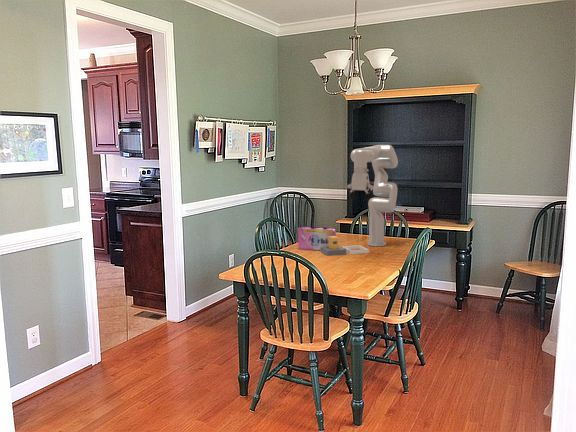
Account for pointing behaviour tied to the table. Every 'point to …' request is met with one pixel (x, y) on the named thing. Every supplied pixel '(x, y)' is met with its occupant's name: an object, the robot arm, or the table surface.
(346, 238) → the table surface
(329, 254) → the gray square socket plate
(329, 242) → the block
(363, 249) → the parts tray
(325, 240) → the gum box
